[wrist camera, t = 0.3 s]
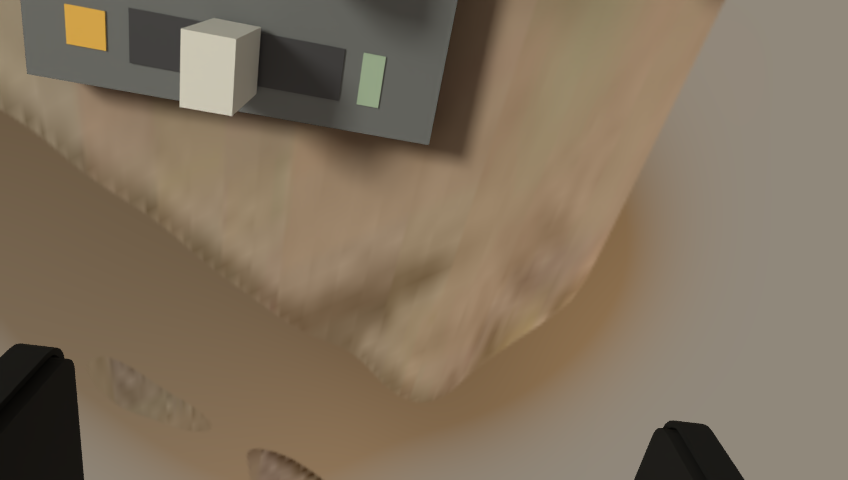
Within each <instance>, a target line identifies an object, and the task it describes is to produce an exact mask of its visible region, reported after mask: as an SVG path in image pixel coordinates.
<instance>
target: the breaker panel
mask: <svg viewBox="0 0 848 480" xmlns="http://www.w3.org/2000/svg"><path fill="white" fill-rule="evenodd" d="M20 1H21V12H22V23H23V34H24V45H25V56H26V67H27V74H31V75H36V76H42V77H48V78H53V79H59V80H64V81H70V82H76V83H81V84H87V85H93V86H98V87H104V88H110V89H115V90H121V91H126V92H132V93H138V94H143V95H149V96H155V97H160V98H166V99H172V100H177V101H180V44H181V28H184V27H187V26H191V25H194V24H197V23H200V22H203V21H206V20H209V19H212V18H217V19H222V20H227V21H232V22H238V23H243V24H248V25H253V26H258V27H261V36H260V50H259V65H258V79H257V93H256V95H255V96H254V97H252V98H251V99H250V100H249V101H248V102H247V103H246V104H245V105H244V106H243V107H242V108H240V109H239V110H238V111H239V112H245V113H250V114H256V115H262V116H267V117H273V118H279V119H284V120H290V121H296V122H301V123H307V124H313V125H318V126H324V127H329V128H335V129H341V130H346V131H352V132H358V133H363V134H369V135H375V136H380V137H386V138H391V139H397V140H403V141H408V142H414V143H420V144H425V145H429V142H430V137H431V132H432V127H433V122H434V117H435V112H436V107H437V102H438V96H439V91H440V86H441V81H442V76H443V71H444V66H445V61H446V56H447V51H448V46H449V41H450V36H451V31H452V26H453V21H454V16H455V11H456V6H457V1H458V0H20Z"/></svg>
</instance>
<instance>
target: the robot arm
mask: <svg viewBox="0 0 848 480" xmlns="http://www.w3.org/2000/svg"><path fill="white" fill-rule="evenodd" d="M0 480H84V474H83V462H82V450H81V439H80V426H79V415H78V403H77V391H76V380H75V368H74V363H73V361H72V360H70V359H64V355H63V352H62V351H61V349H59V348H54V347H46V346H37V345H29V344H16V345H14V346H13V347H11V348H10V349H9V350H7V351H6V352H5V353H4V354H3V355H2V356H1V357H0ZM634 480H744V479H743V477H742V476H741V474H740V473H739V471H738V469H737V468H736V466H735V465H734V464H733V462H732V461H731V459H730V457H729V456H728V454H727V453H726V451H725V450H724V448H723V447H722V445H721V444H720V443H719V441H718V439H717V438H716V436H715V435H714V433H713V432H712V430H711V429H710V428H709V427H708V426H706V425H704V424H699V423H690V422H682V421H669V422H667V423H666V424H665V426H664V427H663V428H658V429H657V430H655V432H654V434H653V436H652V438H651V441H650V443H649V445H648V448H647V450H646V453H645V455H644V458H643V460H642V462H641V465H640V467H639V469H638V472H637V474H636V477H635V479H634Z"/></svg>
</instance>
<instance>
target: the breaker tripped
mask: <svg viewBox="0 0 848 480" xmlns="http://www.w3.org/2000/svg"><path fill="white" fill-rule="evenodd" d="M260 36H261V27H258V26H253V25H248V24H243V23H238V22H232V21H227V20H222V19H217V18H212V19H209V20H206V21H203V22H200V23H197V24H194V25H191V26H187V27H184V28H181V44H180V107H183V108H189V109H194V110H200V111H206V112H211V113H217V114H223V115H228V116H233V115H234V114H235V113H236V112H237V111H238V110H239V109H240V108H242V107H243V106H244V105H245V104H246V103H247V102H248V101H249V100H250V99H251V98H252V97H254V96H255V95H256V93H257V79H258V65H259V50H260Z"/></svg>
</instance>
